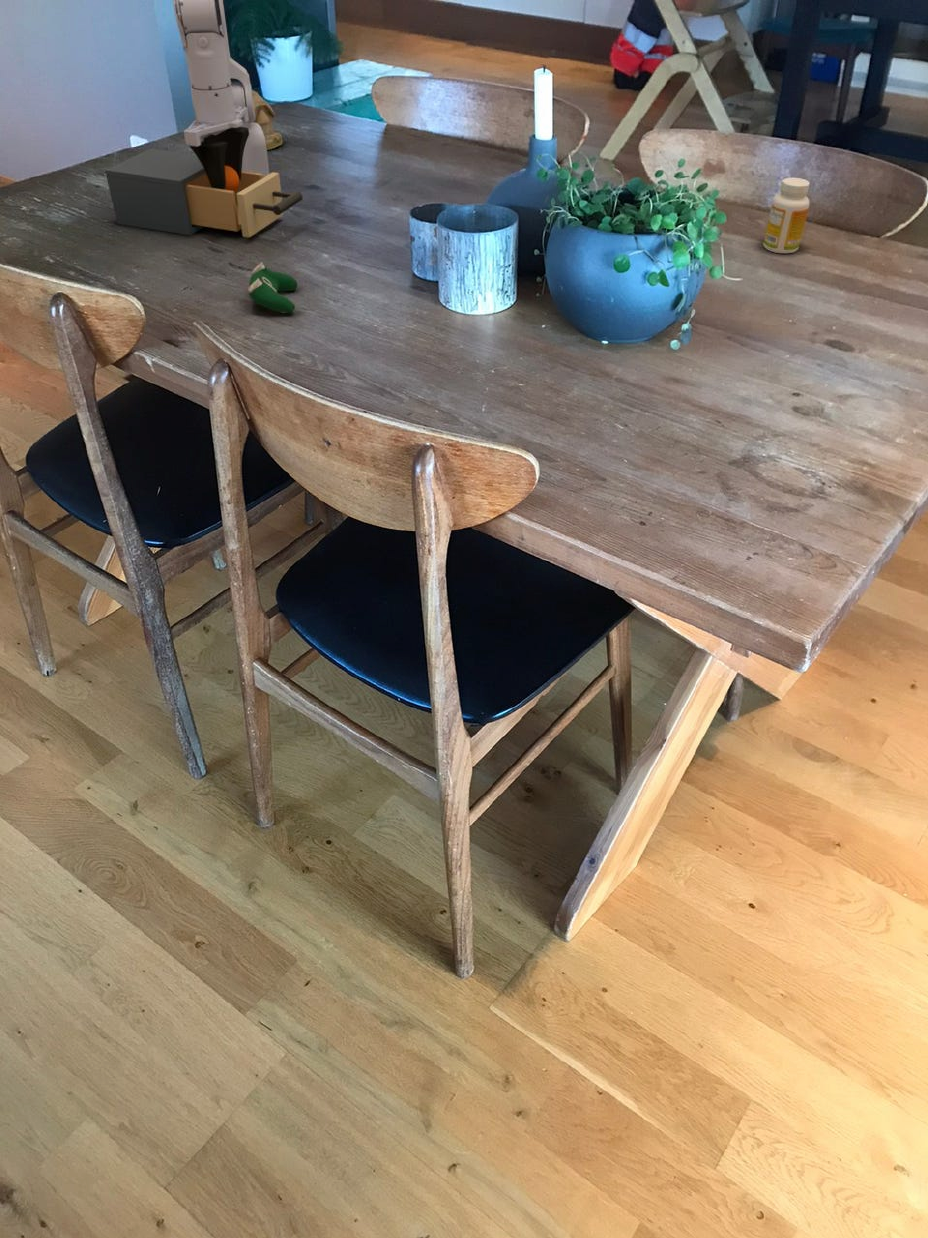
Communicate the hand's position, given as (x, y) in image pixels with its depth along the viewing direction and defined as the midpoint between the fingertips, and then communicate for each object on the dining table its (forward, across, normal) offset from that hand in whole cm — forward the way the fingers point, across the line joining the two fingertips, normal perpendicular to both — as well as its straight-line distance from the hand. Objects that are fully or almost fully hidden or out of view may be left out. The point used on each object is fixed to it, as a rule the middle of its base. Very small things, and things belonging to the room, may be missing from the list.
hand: (226, 183), depth 144 cm
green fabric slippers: (+7, -23, -20) cm, 31 cm away
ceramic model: (+7, +41, +20) cm, 46 cm away
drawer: (+5, 0, -3) cm, 6 cm away
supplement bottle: (+7, +24, -83) cm, 87 cm away
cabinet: (+6, 0, +11) cm, 13 cm away
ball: (-1, 0, 0) cm, 1 cm away
